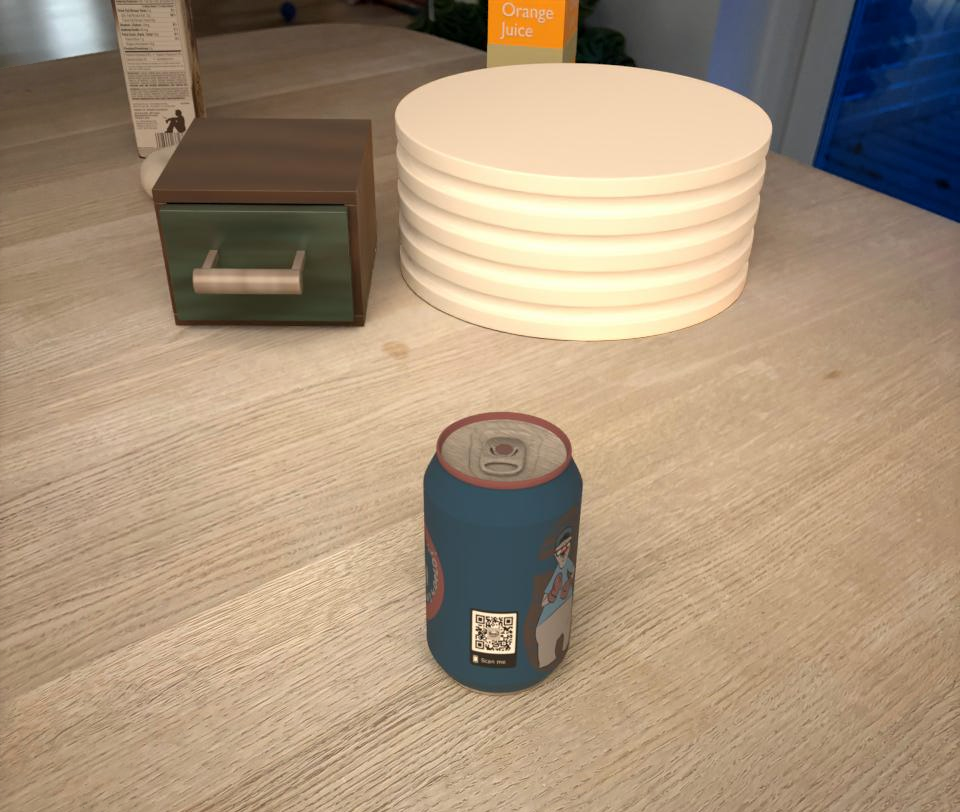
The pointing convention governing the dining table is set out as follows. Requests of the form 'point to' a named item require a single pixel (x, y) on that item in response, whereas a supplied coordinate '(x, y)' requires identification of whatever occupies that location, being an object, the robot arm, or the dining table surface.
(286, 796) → the dining table surface
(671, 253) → the plate stack
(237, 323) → the cabinet
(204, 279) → the drawer
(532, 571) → the soda can
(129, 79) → the coffee box
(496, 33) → the orange juice
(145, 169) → the donut
